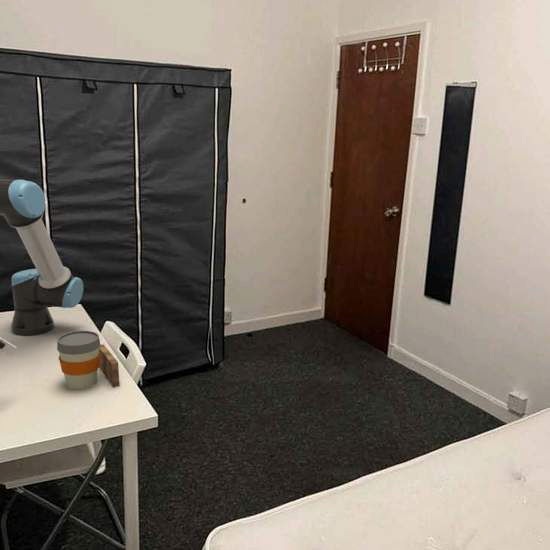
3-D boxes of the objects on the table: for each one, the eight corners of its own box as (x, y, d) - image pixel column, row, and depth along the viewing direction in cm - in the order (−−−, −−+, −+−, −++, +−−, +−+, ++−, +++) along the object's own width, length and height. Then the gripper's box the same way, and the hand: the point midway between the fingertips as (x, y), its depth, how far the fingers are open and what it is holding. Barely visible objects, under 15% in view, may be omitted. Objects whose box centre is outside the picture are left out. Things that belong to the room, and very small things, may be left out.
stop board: (98, 367, 182) (97, 345, 180) (104, 366, 183) (103, 344, 181) (113, 387, 169) (111, 363, 167) (119, 385, 170) (118, 362, 168)
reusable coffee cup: (58, 393, 164) (53, 347, 160) (62, 375, 176) (58, 331, 172) (101, 389, 167) (98, 344, 163) (103, 372, 179) (100, 329, 175)
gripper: (-75, 309, 149) (0, 353, 162) (-74, 325, 138) (7, 370, 152) (-55, 288, 150) (18, 333, 163) (-53, 302, 140) (25, 349, 153)
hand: (12, 351), depth 158 cm, fingers closed
